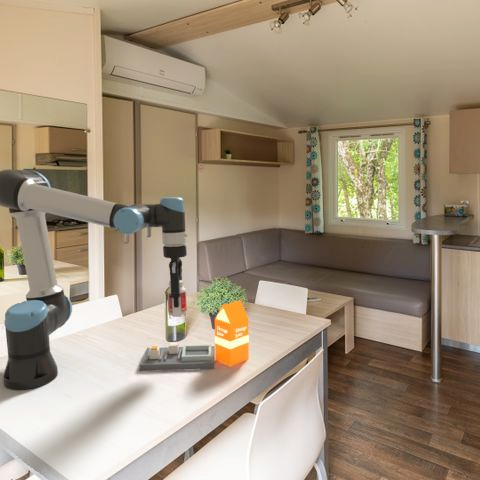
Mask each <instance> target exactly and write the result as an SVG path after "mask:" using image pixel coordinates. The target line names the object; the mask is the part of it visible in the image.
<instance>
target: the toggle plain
mask: <svg viewBox="0 0 480 480" xmlns="http://www.w3.org/2000/svg"><path fill="white" fill-rule="evenodd" d="M168 347H169V354H178V351H179V347H180V346H179V342H177V341H175V342H174V341H173V342H171V341H170V342H169V344H168Z"/></svg>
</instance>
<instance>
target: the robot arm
mask: <svg viewBox="0 0 480 480" xmlns="http://www.w3.org/2000/svg"><path fill="white" fill-rule="evenodd" d="M159 201H160V202H159V203H155V204H152V203H150V204H144V203H143V204H142V203H141V204H137V203H135V204H122V203H117V202H113V201H110V200H104V199H100V198H96V197H93V196H88V195H83V194H79V193H75V192H71V191H66V190H63V189H60V188H59V189H58V188H54V187H51V184H50V181H49V180H48V179H47V178H46V176H45V175H43V174H42V173H40V172H39V171H35V170H31V169H3V170H0V207H3V208H6V209H7V208H8V210H9V211H8V213H9V215H10V216H12V217H13V218H14V219H16V226H17V231H18V235H19V241H20V245H21V251H22V255H23V262H24V266H25V273H26V277H27V283H28V287H29V291H28V292H27V293H26V294H25V298H26V299H25V300H24V301H21V302H17V303H15V304H12V305H11V306H10V307H8V309H7V310H6V311H5V314H4V327H5V335H6V337H5V338H6V345H7V346H6V347H7V349H6V350H7V357H8V358H7V362H6V366H5V369H4V373H3V386H4V387H5V388H7V389H9V390H16V391H17V390H30V389H35V388H39V387H42V386H45V385H46V384H50V383H51V382H52V381H53V380H55V379H56V378H57V377H58V374H59V371H58V370H59V369H58V366H57V363H56V361H55V359H54V356H53V354H52V352H51V345H50V344H51V343H50V335H52V334H53V333H54V332H56V331H57V330H58V329H59V328H62V327H63V326H64V325H65V324H66V323H67V321H68V320H69V319H70V317H71V315H72V312H73V303H72V302H71V299H70V298H69V296H67V295H66V294H65V292H64V291H65V290H64V287H62V286H60V284H58V280H57V279H58V278H57V275H56V270H55V269H56V268H55V263H54V260H53V259H54V258H53V253H52V246H51V242H50V236H49V231H48V226H47V220H46V214H51V215H54V216H60V217H63V218H64V217H65V218H67V219H73V220H75V221H81V222H85V223H89V224H93V225H97V226H98V225H99V226H103V227H106V228H111V229H115V230H117V232H120V233H122V234H124V235H128V234H129V235H132V234H135V233H137V232H139V231H140V230H143V229H145V228H146V229H147V228H161V229H162V230H161V238H162V245H163V247H162V251H163V252H162V253H163V257H164V258H166V259H170V261H169V263H168V268H169V277H170V278H169V279H170V281H171V296H170V298H172V308H173V316H172V317H173V318H174V317H175V318H177V317H182V315H181V297H180V283H179V280H182V281H183V268H182V267H183V261H182V258H184V257H186V256H187V255H188V254H187V245H186V243H187V239H186V238H187V237H188V234H187V233H186V213H185V212H186V210H185V205H184V204H185V203H184V199H183V198H182V197H180V196H174V197H173V196H172V197H161V198H160V200H159Z"/></svg>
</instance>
